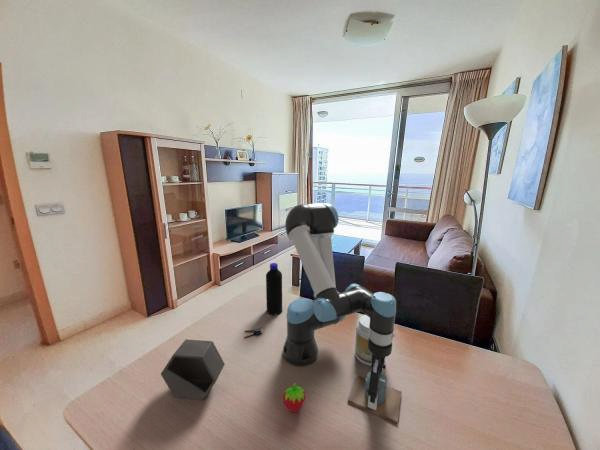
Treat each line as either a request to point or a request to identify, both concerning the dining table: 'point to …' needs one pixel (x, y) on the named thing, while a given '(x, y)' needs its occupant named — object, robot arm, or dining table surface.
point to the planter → (193, 369)
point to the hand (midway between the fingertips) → (375, 395)
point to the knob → (381, 388)
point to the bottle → (274, 290)
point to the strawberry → (294, 398)
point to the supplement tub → (363, 341)
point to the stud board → (383, 410)
